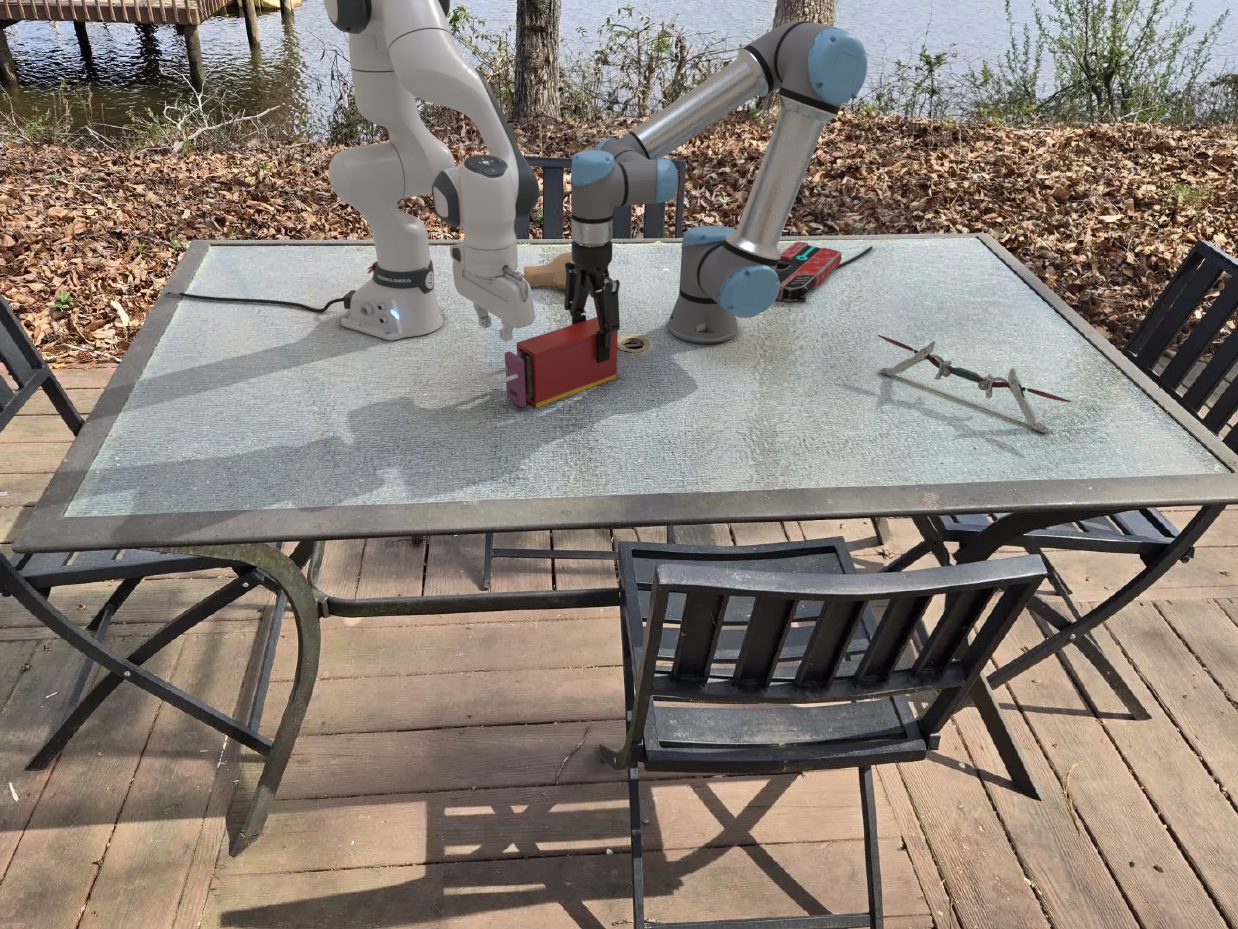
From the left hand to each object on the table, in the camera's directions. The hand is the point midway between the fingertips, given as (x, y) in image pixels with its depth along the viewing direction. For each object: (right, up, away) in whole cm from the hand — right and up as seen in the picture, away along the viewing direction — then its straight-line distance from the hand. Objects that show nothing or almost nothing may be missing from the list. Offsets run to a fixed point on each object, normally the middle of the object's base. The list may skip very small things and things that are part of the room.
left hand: (495, 332), depth 156 cm
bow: (+89, -11, +17) cm, 91 cm away
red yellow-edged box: (+12, -8, +18) cm, 23 cm away
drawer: (+7, -10, +14) cm, 18 cm away
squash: (+8, +20, +60) cm, 63 cm away
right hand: (+16, -1, +18) cm, 24 cm away
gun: (+65, +24, +68) cm, 98 cm away
